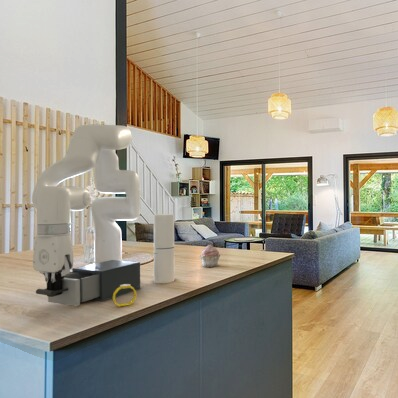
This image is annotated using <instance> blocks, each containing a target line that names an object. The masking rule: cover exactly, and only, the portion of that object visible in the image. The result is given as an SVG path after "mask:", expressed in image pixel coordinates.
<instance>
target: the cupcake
mask: <svg viewBox="0 0 398 398" xmlns="http://www.w3.org/2000/svg"><path fill="white" fill-rule="evenodd" d="M220 257H221V254H220V251H219V250H218V248H217V247H215V246H213V245H212V243H211V244H208V245H207V246H205V247H204V249H202V252H201V254H200V255H199V258H200V260H201V264H202V267H203V268H214V267H217V266H218V264H219V259H220Z"/></svg>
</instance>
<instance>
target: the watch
mask: <svg viewBox="0 0 398 398" xmlns="http://www.w3.org/2000/svg"><path fill="white" fill-rule="evenodd" d="M125 288H131V289H133V291H132V292H133V297H132V299H131V300H130V301H128V302H126V303H118V302H117V301H116V297H115V295H116V293H117V292H118V291H119V290H120V289H125ZM136 299H137V290H135V289H134V288H133V287H131V285H130V284H122V285H120V287H119V288H117V289H116V290H115V292H114V294H113V298H112V301H113V303H114V304H115V306H117V307H118V308H120V307H125V306H131V305H133V303H134V302H135V301H136Z"/></svg>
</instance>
